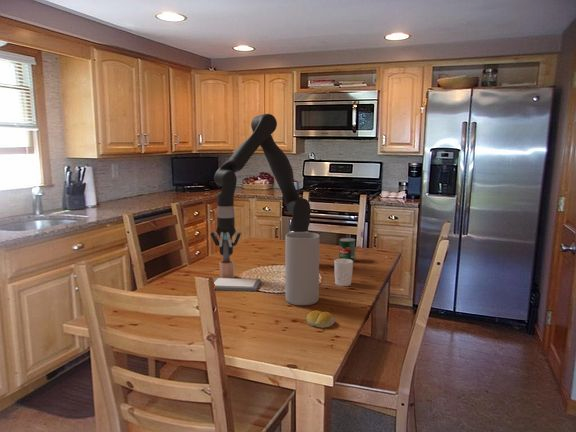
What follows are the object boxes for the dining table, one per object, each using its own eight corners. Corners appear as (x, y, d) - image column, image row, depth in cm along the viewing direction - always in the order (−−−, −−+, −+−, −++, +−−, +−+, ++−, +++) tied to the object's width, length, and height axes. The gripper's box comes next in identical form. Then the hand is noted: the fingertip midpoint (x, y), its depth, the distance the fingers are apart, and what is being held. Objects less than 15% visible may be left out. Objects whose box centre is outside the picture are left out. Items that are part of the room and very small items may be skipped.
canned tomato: (338, 262, 219) (339, 240, 217) (339, 258, 226) (340, 237, 225) (354, 262, 217) (355, 241, 216) (355, 259, 225) (355, 238, 223)
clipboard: (261, 281, 187) (261, 278, 187) (256, 291, 174) (255, 287, 174) (215, 280, 189) (215, 277, 188) (207, 289, 176) (207, 286, 176)
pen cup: (235, 275, 195) (234, 260, 194) (232, 279, 189) (231, 264, 188) (222, 275, 196) (221, 260, 195) (218, 279, 190) (218, 263, 189)
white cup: (354, 282, 186) (354, 259, 185) (350, 287, 179) (351, 264, 177) (336, 280, 189) (336, 257, 187) (331, 285, 181) (332, 262, 180)
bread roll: (313, 316, 149) (313, 305, 148) (337, 322, 144) (337, 310, 143) (301, 324, 142) (301, 313, 141) (326, 330, 137) (326, 318, 136)
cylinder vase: (323, 297, 167) (324, 233, 163) (311, 308, 156) (311, 240, 152) (293, 293, 172) (293, 231, 168) (279, 303, 161) (279, 236, 157)
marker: (230, 260, 193) (230, 231, 191) (229, 262, 190) (228, 233, 188) (223, 260, 193) (223, 231, 191) (222, 262, 190) (221, 233, 188)
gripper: (243, 215, 192) (243, 253, 194) (212, 214, 193) (213, 252, 196) (239, 217, 184) (240, 257, 187) (207, 217, 186) (208, 256, 188)
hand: (226, 254), depth 191 cm, fingers closed on marker, 3 cm apart
